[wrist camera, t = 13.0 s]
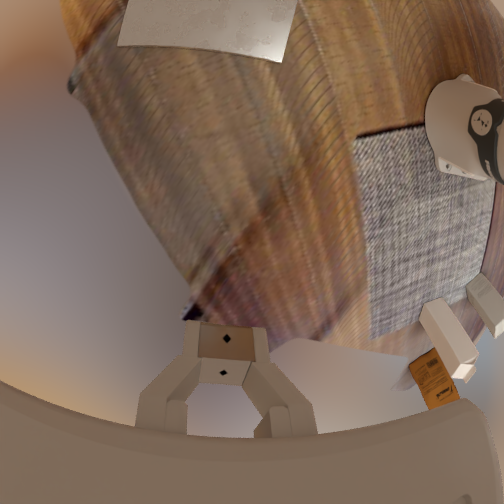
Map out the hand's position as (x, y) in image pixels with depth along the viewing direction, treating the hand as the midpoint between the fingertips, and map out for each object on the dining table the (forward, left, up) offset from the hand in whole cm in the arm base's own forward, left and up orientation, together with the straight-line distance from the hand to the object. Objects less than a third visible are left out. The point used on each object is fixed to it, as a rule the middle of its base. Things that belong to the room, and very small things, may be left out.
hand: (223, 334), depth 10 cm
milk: (-54, +24, -29) cm, 66 cm away
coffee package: (-72, +47, -29) cm, 91 cm away
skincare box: (-68, +16, -29) cm, 76 cm away
